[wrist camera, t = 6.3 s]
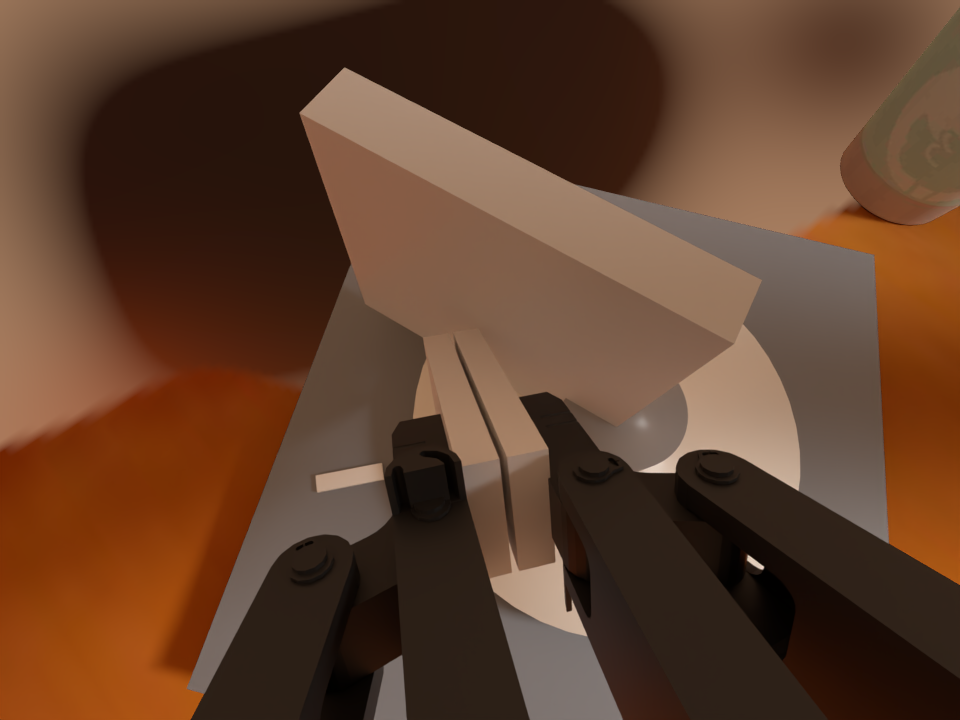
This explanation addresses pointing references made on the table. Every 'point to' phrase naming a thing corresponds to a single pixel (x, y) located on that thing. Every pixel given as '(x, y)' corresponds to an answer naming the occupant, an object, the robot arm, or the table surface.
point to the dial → (549, 296)
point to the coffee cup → (913, 141)
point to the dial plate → (391, 398)
